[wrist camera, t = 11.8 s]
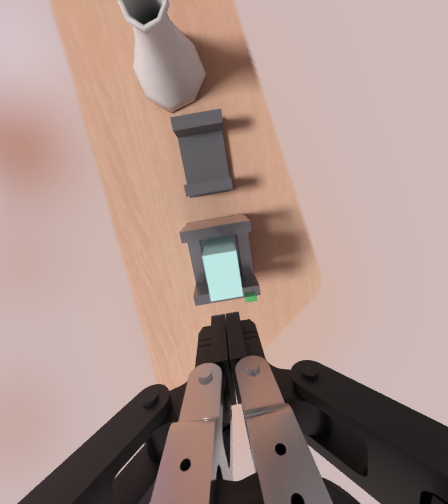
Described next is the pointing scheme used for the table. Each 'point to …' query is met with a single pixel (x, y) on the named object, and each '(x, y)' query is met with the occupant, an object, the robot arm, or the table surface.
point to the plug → (222, 268)
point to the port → (239, 233)
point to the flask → (163, 55)
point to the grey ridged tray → (203, 152)
